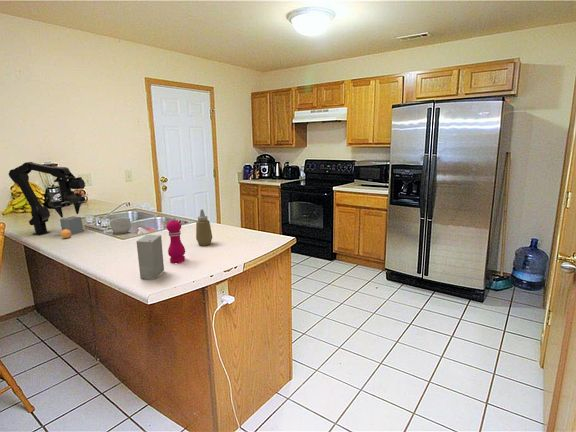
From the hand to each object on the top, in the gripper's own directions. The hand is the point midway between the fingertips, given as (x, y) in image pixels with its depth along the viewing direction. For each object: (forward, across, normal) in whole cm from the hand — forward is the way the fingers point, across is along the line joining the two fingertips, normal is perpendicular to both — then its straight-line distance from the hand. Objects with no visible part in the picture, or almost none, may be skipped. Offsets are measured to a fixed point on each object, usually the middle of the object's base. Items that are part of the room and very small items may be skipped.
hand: (69, 215), depth 200 cm
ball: (+8, -9, -8) cm, 14 cm away
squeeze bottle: (+10, +9, -90) cm, 91 cm away
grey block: (+10, 0, 0) cm, 10 cm away
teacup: (+10, +12, -28) cm, 32 cm away
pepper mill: (+10, -15, -94) cm, 96 cm away
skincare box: (+10, -31, -96) cm, 101 cm away
